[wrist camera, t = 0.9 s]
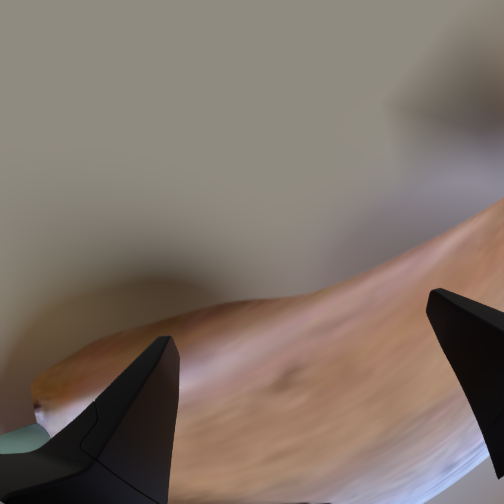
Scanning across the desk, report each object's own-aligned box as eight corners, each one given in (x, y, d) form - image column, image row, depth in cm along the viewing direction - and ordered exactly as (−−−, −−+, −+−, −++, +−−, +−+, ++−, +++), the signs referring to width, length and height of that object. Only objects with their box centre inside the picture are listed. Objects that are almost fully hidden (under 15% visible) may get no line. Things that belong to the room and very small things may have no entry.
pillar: (59, 451, 22) (-8, 485, 9) (43, 456, 21) (-19, 485, 9) (40, 420, 22) (-31, 444, 10) (25, 426, 22) (-40, 448, 9)
